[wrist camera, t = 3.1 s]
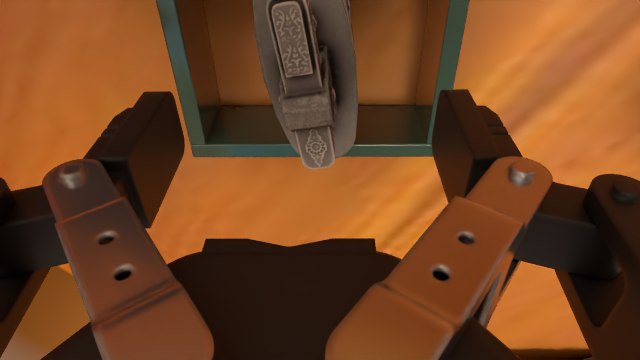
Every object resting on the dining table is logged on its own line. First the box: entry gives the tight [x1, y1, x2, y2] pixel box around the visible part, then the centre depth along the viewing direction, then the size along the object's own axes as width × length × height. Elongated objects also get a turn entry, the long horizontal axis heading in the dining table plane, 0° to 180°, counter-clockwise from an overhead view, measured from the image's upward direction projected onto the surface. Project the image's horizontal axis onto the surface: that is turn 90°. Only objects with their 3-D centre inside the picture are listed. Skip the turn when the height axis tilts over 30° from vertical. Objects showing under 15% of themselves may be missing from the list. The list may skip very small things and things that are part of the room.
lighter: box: [253, 0, 358, 169], centre depth 18 cm, size 8×3×10 cm, turn 10°
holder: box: [156, 0, 470, 157], centre depth 20 cm, size 13×13×4 cm
